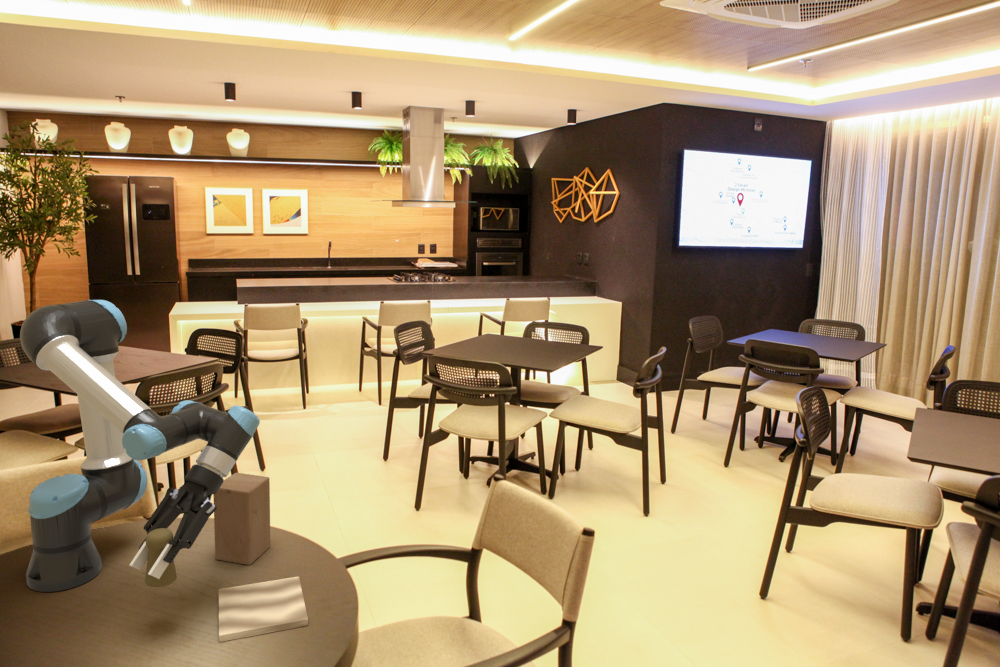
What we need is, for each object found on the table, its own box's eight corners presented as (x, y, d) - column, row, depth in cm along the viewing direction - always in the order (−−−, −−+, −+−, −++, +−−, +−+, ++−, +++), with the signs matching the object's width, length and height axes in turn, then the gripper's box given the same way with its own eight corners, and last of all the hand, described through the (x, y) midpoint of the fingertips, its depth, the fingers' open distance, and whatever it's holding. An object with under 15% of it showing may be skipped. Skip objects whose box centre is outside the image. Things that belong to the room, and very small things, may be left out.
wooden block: (250, 566, 168) (248, 491, 164) (214, 560, 169) (212, 486, 166) (271, 546, 177) (270, 476, 173) (237, 541, 179) (235, 471, 175)
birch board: (218, 595, 155) (218, 589, 154) (298, 581, 162) (298, 576, 161) (219, 642, 139) (218, 635, 138) (308, 625, 146) (308, 619, 145)
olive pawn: (155, 590, 136) (153, 541, 134) (138, 580, 139) (136, 532, 137) (182, 577, 141) (181, 530, 139) (166, 568, 144) (164, 521, 142)
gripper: (248, 488, 146) (185, 591, 135) (192, 469, 154) (128, 565, 143) (228, 473, 141) (161, 580, 130) (171, 454, 149) (103, 553, 138)
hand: (144, 571), depth 136 cm, fingers closed on olive pawn, 5 cm apart
